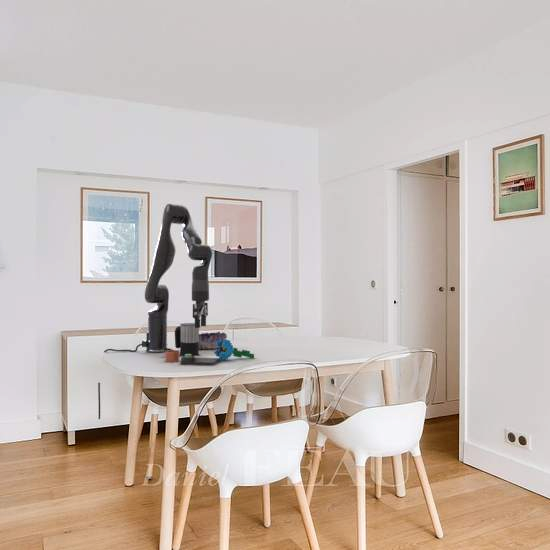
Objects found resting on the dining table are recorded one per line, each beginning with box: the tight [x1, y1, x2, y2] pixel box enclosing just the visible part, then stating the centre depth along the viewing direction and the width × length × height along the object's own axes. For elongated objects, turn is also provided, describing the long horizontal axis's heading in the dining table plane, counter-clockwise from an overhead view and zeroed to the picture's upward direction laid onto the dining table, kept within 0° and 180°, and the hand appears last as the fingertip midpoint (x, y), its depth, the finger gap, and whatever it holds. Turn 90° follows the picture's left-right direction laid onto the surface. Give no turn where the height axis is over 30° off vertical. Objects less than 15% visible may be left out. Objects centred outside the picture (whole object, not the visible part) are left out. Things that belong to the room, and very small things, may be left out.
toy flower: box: [213, 339, 255, 361], centre depth 242 cm, size 9×9×18 cm
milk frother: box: [163, 322, 200, 357], centre depth 254 cm, size 14×16×15 cm
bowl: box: [164, 349, 180, 363], centre depth 236 cm, size 6×6×4 cm
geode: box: [199, 331, 228, 350], centre depth 278 cm, size 20×12×10 cm, turn 116°
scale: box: [180, 355, 221, 367], centre depth 232 cm, size 14×12×3 cm
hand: (200, 327), depth 235 cm, fingers open, 8 cm apart
